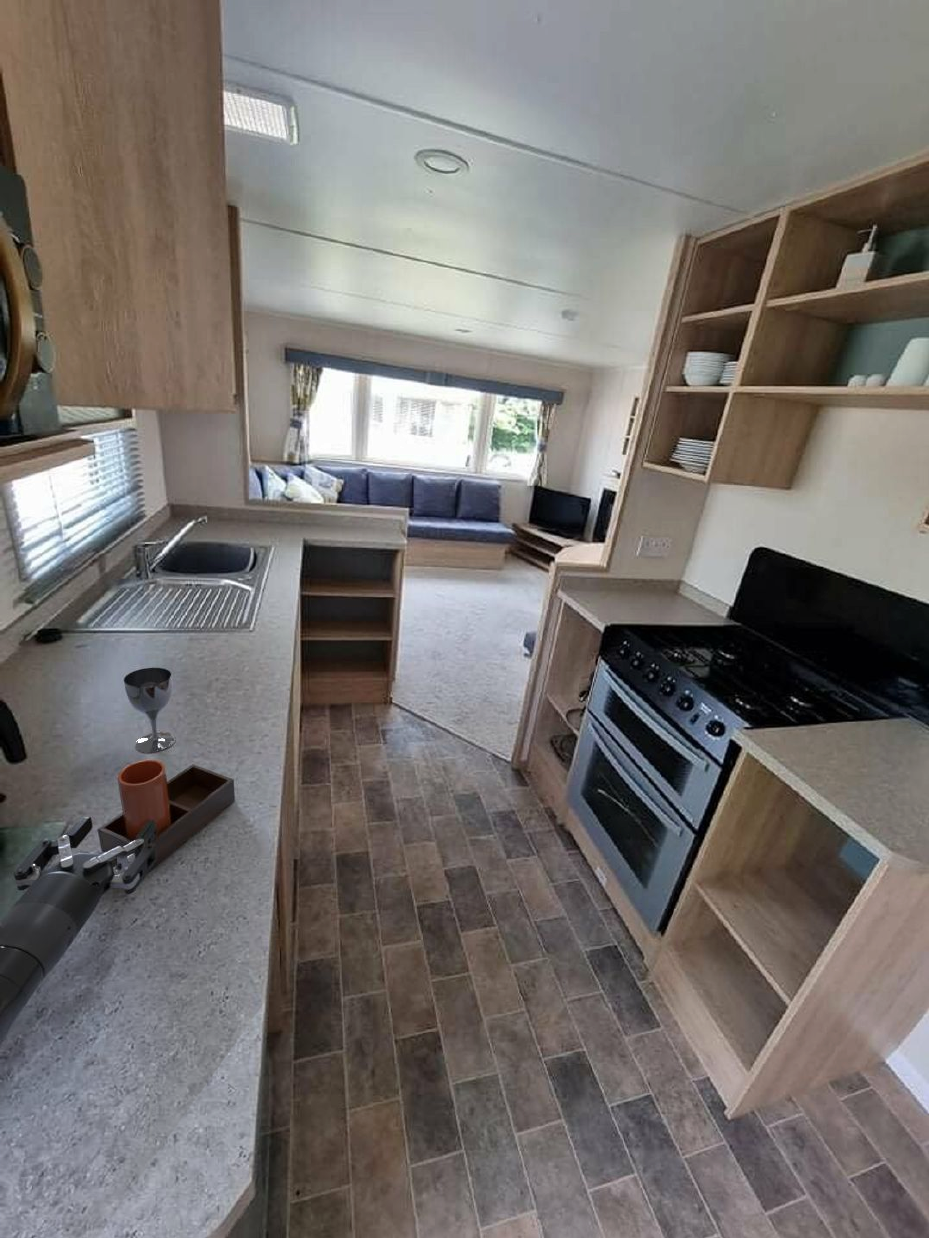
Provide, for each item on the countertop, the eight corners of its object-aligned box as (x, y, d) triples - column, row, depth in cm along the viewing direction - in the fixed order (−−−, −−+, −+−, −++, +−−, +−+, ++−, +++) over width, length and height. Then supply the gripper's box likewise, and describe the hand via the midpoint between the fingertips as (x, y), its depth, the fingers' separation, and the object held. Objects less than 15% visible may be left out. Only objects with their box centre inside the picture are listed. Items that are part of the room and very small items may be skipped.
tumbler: (119, 845, 80) (107, 777, 75) (153, 820, 85) (144, 755, 80) (148, 859, 78) (138, 790, 73) (181, 833, 83) (174, 766, 79)
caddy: (101, 852, 79) (97, 829, 77) (194, 784, 95) (192, 763, 93) (146, 873, 76) (143, 850, 75) (235, 800, 92) (233, 779, 91)
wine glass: (168, 726, 110) (161, 663, 105) (184, 743, 105) (178, 678, 100) (126, 740, 104) (117, 674, 99) (141, 759, 100) (132, 691, 94)
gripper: (101, 906, 57) (171, 804, 72) (-38, 902, 56) (63, 799, 71) (110, 953, 60) (175, 845, 75) (-22, 950, 58) (71, 841, 73)
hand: (120, 823), depth 73 cm, fingers open, 8 cm apart
